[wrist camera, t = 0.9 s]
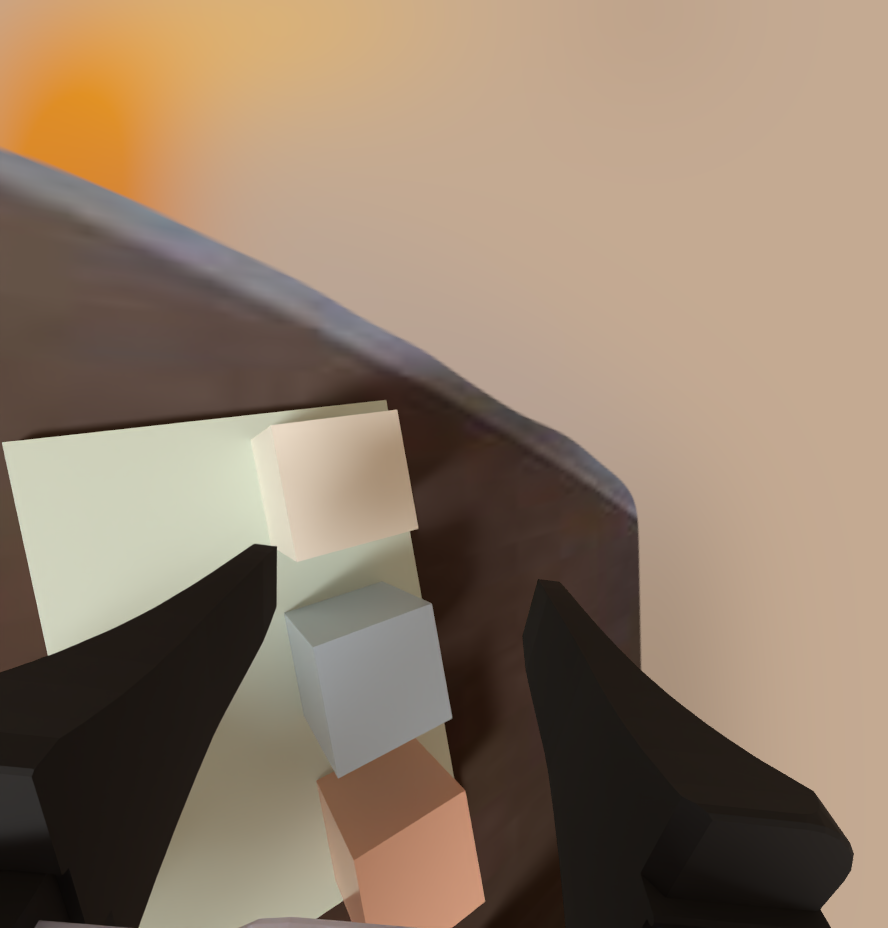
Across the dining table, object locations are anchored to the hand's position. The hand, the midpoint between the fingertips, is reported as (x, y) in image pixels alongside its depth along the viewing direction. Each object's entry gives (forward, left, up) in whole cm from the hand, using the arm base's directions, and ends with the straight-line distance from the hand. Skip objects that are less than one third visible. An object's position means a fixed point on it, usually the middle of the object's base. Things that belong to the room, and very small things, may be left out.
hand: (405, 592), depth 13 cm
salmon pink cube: (-12, -9, -13) cm, 20 cm away
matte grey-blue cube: (-4, -4, -13) cm, 15 cm away
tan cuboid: (+3, 0, -13) cm, 14 cm away
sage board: (-6, -1, -14) cm, 16 cm away
